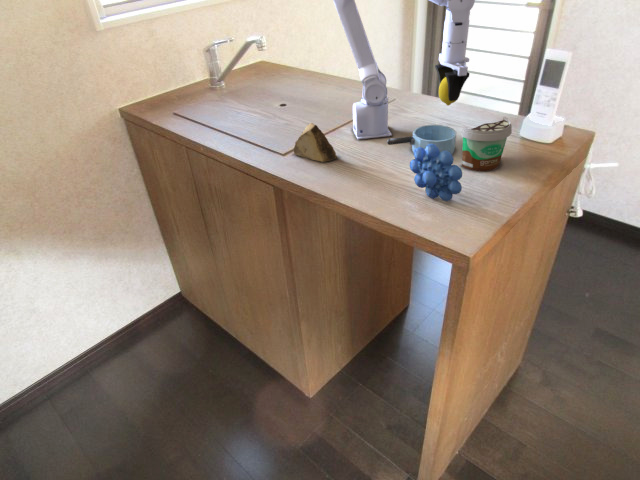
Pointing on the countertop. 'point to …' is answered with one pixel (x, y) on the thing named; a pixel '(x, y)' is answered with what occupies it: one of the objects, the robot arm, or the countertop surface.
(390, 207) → the countertop surface
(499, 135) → the food container
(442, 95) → the lemon
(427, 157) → the grapes
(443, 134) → the pan
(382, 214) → the countertop surface
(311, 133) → the rock
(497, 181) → the countertop surface
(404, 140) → the pan handle
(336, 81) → the countertop surface
